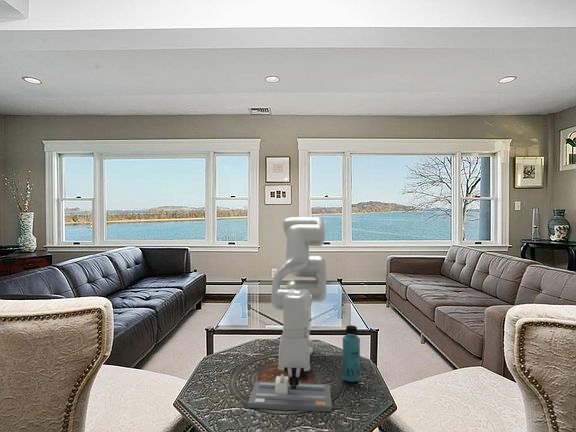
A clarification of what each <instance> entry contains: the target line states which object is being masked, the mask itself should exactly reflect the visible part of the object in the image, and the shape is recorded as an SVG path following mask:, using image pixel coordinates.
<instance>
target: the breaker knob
mask: <svg viewBox="0 0 576 432" xmlns="http://www.w3.org/2000/svg"><path fill="white" fill-rule="evenodd" d="M288 383H289V376H288V375H287V376H285V374H280V375H276V378H275V394H285V395H288Z"/></svg>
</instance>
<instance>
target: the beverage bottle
mask: <svg viewBox="0 0 576 432" xmlns="http://www.w3.org/2000/svg"><path fill="white" fill-rule="evenodd" d="M345 333H347V334H346V335H344V336H343V337H342V358H341V359H342V362H341V364H342V365H341V376H342V379H343V380H344V381H348V382H357V381H359V379H360V375H361V374H360V373H361V365H360V359H361V358H360V357H361V355H360V354H361V348H360V347H361V344H360V343H361V339H360V337H359V336H358V335H356V334H358V327H357V326H356V325H346V327H345Z"/></svg>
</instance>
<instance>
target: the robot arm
mask: <svg viewBox="0 0 576 432" xmlns="http://www.w3.org/2000/svg"><path fill="white" fill-rule="evenodd" d="M282 227H283V233H284V234H285V236H286V255H285V261H284V262H283V264H282V265H281V266H279V268H278V269H277V270H276V272H275V274H274V276H273V279H272V284H271V285H272V286H271V294H270V295H271V297H270V299H271V300H270V301H271V306H272V307H273V308H274V309H275V310H278V311H282V318H283V319H282V333H281V334H280V339H279V345H278V346H279V348H278V366H277V369H278V370H280V371H284V372H285V374H287V376H288V383H289V385H291V389H296V386H298V385H299V383H300V382H299V379H300V378H299V375H301V374H302V373H303V372H304V371H310V370H311V364H310V361H311V359H310V358H311V357H310V356H311V355H312V353H313V352H314V349H313V347H312V346H310V333H311V328H310V325H311V324H310V322H311V321H310V320H311V319H310V318H311V316H310V315H311V313H310V310H309V308H311V306H312V305H313V303H321V302H324V301H325V300H326V297H327V263H326V259H325V258H324V256H321V255H316V254H314V255H310V247H321V246H323V244H324V243H325V239H326V238H325V237H326V232H325V231H326V230H325V229H326V228H325V222H324V219H323V218H322V217H319V216H317V217H316V216H315V217H314V216H291V217H287V218H284V219H283V223H282ZM289 274H290V275H291V276H293V277H295V278H296V277H297V278H314V279H292V280H289V281H288V282H287V283H286V287H281V283H282V280H283V279H284V278H285V277H286V276H288V275H289ZM292 368H296V372H295V374H293V372H292Z"/></svg>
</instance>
